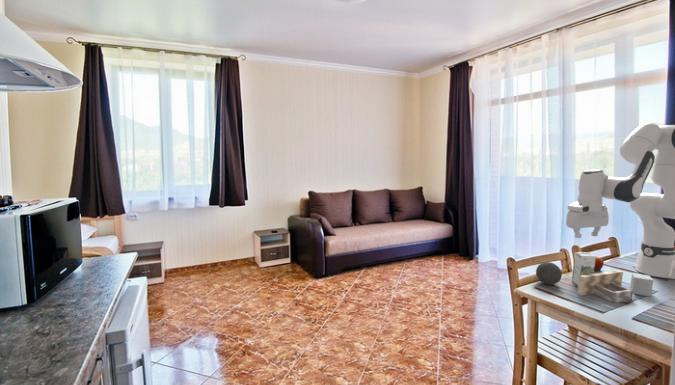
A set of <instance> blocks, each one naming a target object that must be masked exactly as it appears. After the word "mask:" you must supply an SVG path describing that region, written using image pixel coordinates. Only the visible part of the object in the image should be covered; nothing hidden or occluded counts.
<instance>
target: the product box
mask: <svg viewBox="0 0 675 385" xmlns="http://www.w3.org/2000/svg"><path fill="white" fill-rule="evenodd" d="M653 283H654V279H653V278H652V277H651V275H647V274H643V273H633V272H632V273H631V280H630V287H629V289H631V290H633V293H632V295H640V296H647V297H652V294H653V286H654V284H653Z"/></svg>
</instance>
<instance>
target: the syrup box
mask: <svg viewBox="0 0 675 385" xmlns="http://www.w3.org/2000/svg"><path fill="white" fill-rule="evenodd" d="M573 257H574V258H573V265H572V266H573V267H572V277H571V282H572V283H573V284H575V285H576V284H577V286H578V281H579V276H581V275H588V274H595V270H594V266H595V257H596V256H595V254H593V253H590V252H584V251H578V252H576V251H575V252H574V256H573Z"/></svg>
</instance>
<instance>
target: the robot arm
mask: <svg viewBox="0 0 675 385" xmlns="http://www.w3.org/2000/svg"><path fill="white" fill-rule="evenodd" d="M654 150H656V151H657V153H656V155H655V154H654V153H653V151H654ZM619 154H620V156H621V157H622V158H623V160H625V161H626V162H628V163H629V164H633V165H635V166H634V168H633V170H632V172H631V174H630V175H629V176H626V177H616V176H609V175H607V174H605V173H604V172H605V171H604V170H603V169H601V168H600V169H599V168H591V169H590V168H589V169H585V170H583V171H582V173H581V174H580V177H579V182H578V196H577V200H576V201H574V202H573V203H570V204H568V205H567V210H568V211H567V214H566V217H565V218H566V221H565V225H566V227H567V228H570V229H572V230H573V232H574V237H575V238H577V239H581V238H582V233H580V231H581V229H586V228H594V229H593V231H591V236H592V237H598V235H599V232H600V230H601V228H602V227H607V226H608V225H609V211H608V207H607V206H606V205H605V204H603V199H608V200H615V201H620V202H624V203H629V207H630V209H631V210H632V211H633V212H634V213H635V214H636V215H637V216H638V217H639V218H640V220H641V223H642V227H643V237H642V242H641V244H640V251H638V252H637V256H636V261H635V264H632V265H633V266H632V267H633V268H635V269H634V270H635V271H637V272H639V273H640V274H643V275H649V276H650V277H651V276H652V277H657V278H664V279H665V278H666V279H672V280H675V230H674V228H673V227H672V226H670V225H669V224H667V223H666V221H665V220H664V218H665V219H671V220H675V124H668V125H667V124H665V125H664V124H663V125H657V124H655V123H652V122H649V123H648V122H646V123H643V124H641V125H639V126H637V128H635V129H634V130H633V131H632V132H631V133H630V134H629V135H628V136H627V137H626V138H625V140H623V142H622V143H621V145H620V148H619ZM652 168H653V170H652ZM651 171H652V176H651V181H652V182H653V183H654V185H655V184H656V185H657V186H659V187H661V189H662V191H663V193H656V192H655V193H653V192H643V188H644V185H645V183H646V181H647V179H648V176H649V175H650V172H651Z"/></svg>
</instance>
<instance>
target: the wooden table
mask: <svg viewBox="0 0 675 385" xmlns="http://www.w3.org/2000/svg"><path fill="white" fill-rule="evenodd" d="M623 273H624V272H623V271H621V270H619V269H618V270H611V271H604V272H602V271H601V272H596V273H595V272H594V274H588V275H581V276H579V281H578V285H577V295H579V294H580V296H590V295H595V296H596V297H597V296H598V298H599V297H600V298H602V299H605V300H607V301H609V302H612V303H614V304H615V303H620V302H627V301H631V300H632V299H633V290H631V289H630V288H628V287H625V286H622V283H623V275H624V274H623Z"/></svg>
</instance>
